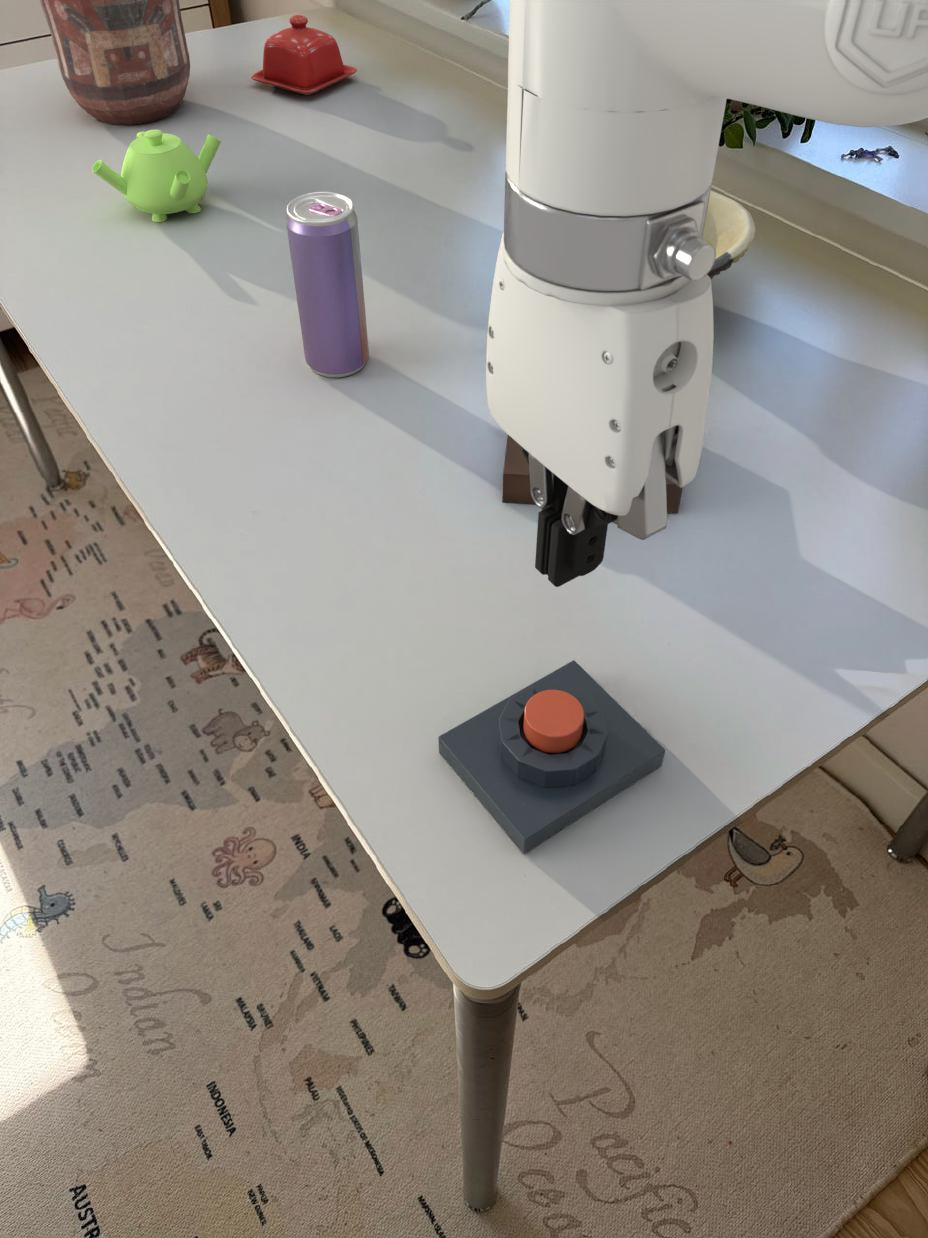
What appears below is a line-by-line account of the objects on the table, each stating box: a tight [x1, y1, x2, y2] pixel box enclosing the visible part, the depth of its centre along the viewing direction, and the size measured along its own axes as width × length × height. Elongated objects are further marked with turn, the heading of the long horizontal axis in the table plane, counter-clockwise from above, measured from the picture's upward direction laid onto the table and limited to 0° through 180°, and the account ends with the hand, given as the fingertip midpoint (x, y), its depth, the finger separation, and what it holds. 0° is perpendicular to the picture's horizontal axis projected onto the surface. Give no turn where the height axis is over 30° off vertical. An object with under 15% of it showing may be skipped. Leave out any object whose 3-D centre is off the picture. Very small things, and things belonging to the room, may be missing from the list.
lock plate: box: [501, 434, 684, 514], centre depth 83 cm, size 14×11×3 cm
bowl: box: [703, 190, 756, 280], centre depth 97 cm, size 18×18×10 cm
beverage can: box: [285, 191, 370, 379], centre depth 89 cm, size 6×6×15 cm
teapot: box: [91, 129, 222, 223], centre depth 113 cm, size 11×12×8 cm
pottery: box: [39, 0, 191, 126], centre depth 130 cm, size 18×18×18 cm
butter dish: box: [250, 14, 358, 96], centre depth 139 cm, size 12×12×8 cm
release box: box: [437, 659, 666, 855], centre depth 63 cm, size 11×9×4 cm
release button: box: [523, 690, 584, 753], centre depth 61 cm, size 4×4×2 cm
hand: (568, 566), depth 51 cm, fingers closed
